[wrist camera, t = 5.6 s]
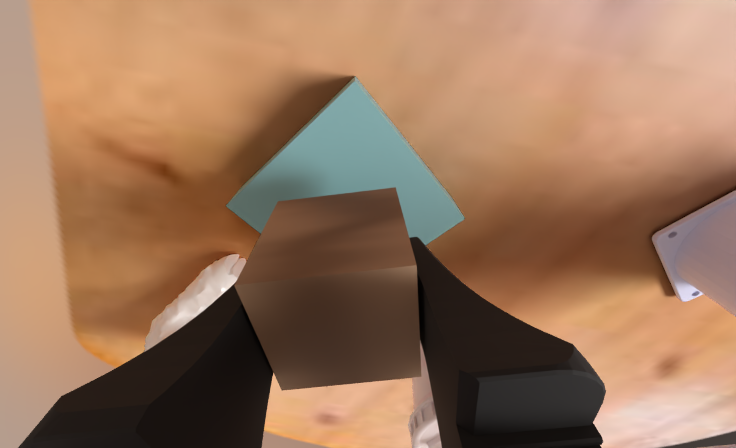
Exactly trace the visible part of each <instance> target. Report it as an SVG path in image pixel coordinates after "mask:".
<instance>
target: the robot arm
mask: <svg viewBox="0 0 736 448" xmlns="http://www.w3.org/2000/svg"><path fill="white" fill-rule="evenodd" d="M409 239H410V242H411V246H412V250H413V254H414V257H415V261H416V265H417V284H418V308H419V331H420V341H421V345H422V348H423V352H424V356H425V360H426V365H427V370H428V375H429V380H430V385H431V390H432V396H433V401H434V406H435V412H436V417H437V423H438V428H439V434H440V439H441V445H442V448H601V446H600V445H601V444H602V443H603V440H602V437H601V435H600V433H599V432H598V430H597V429H596V427H595V425H594V424H593V421H594V419H595V417H596V415H597V413H598V411H599V409H600V407H601V405H602V403H603V400H604V396H605V393H606V390H605V386H604V383H603V382H602V380H601V379H600V378H599V376H598V375H597V373H596V372H595V371H594V369H593V368H592V367H591V365H590V364H589V363H588V361H587V360H586V359H585V358H584V357H583V356H582V354H581V353H580V352H579V351H578V350H577V349H576V347H575V346H574V345H573V344H571V343H569V342H566V341H564V340H562V339H559V338H557V337H555V336H553V335H550V334H548V333H546V332H543V331H541V330H539V329H537V328H535V327H533V326H531V325H529V324H527V323H525V322H523V321H521V320H519V319H517V318H515V317H513V316H511V315H510V314H508V313H506V312H504V311H503V310H501V309H499V308H498V307H496V306H495V305H493V304H491V303H490V302H488V301H486V300H485V299H483V298H482V297H481V296H479V295H478V294H476V293H475V292H474V291H472V290H471V289H470V288H468V287H467V286H466V285H465V284H464V283H462V282H461V281H460V280H459V279H458V278H457V277H455V276H454V275H453V274H452V273H451V272H450V271H449V270H448V269H447V268H446V267H445V266H444V265H443V264H442V263H441V262H440V261H439V260H438V259H437V258H436V257H435V256H434V255H433V254H432V253H431V252H430V251H429V249H428V248H427V247H426V246H425V245H424V243H423V242H422V241H421V239H420V238H418V237H411V238H409ZM652 242H653V244H654V246H655V248H656V251H657V253H658V255H659V258H660V260H661V262H662V264H663V267H664V269H665V271H666V274H667V276H668V278H669V280H670V283H671V285H672V287H673V290H674V292H675V294H676V296H677V298H678V299H680V300H681V301H683V302H685V301H689V300H692V299H694V298H696V297H698V296H701V295H703V294H705V295H706V296H707V297H709V298H710V299H712V300H713V301H714V302H716V303H717V304H719V305H720V306H721V307H723V308H724V309H726V310H727V311H728V312H730V313H731V314H733V315H734V316H735V317H736V190H735V191H733V192H731V193H729V194H727V195H725V196H723V197H722V198H720V199H718V200H716V201H714V202H712V203H710V204H708V205H707V206H705V207H703V208H701V209H699V210H697V211H695V212H693V213H692V214H690V215H688V216H686V217H684V218H682V219H680V220H678V221H677V222H675V223H673V224H671V225H669V226H667V227H665V228H663V229H662V230H660V231H658V232H656V233H655V234H654V235H653V237H652ZM235 283H236V282H235ZM235 283H234V284H233V285H232V286H231V287H230V288H229V289H228V290H227V291H226V292H224V293H223V294H222V295H221V296H220V297H219V298H218V299H216V300H215V301H214V302H213V303H212V304H211V305H210V306H209V307H207V308H206V309H205V310H204V311H202V312H201V313H200V314H199V315H197V316H196V317H195V318H193V319H192V320H191V321H189V322H188V323H187V324H185V325H184V326H183V327H181V328H180V329H179V330H177V331H176V332H174V333H173V334H171V335H170V336H168V337H167V338H165V339H164V340H162V341H161V342H159V343H158V344H156V345H155V346H153V347H151V348H150V349H148V350H147V351H145V352H143V353H142V354H140V355H138V356H137V357H135V358H133V359H132V360H130V361H128V362H126V363H125V364H123V365H121V366H119V367H118V368H116V369H114V370H112V371H110V372H108V373H107V374H105V375H103V376H101V377H99V378H97V379H95V380H93V381H91V382H89V383H87V384H85V385H83V386H81V387H79V388H77V389H75V390H73V391H71V392H69V393H67V394H65V395H63V396H61V398H59V400H58V401H57V402H56V403H55V404H54V406H53V407H52V408H51V409H50V410H49V412H48V413H47V414H46V415H45V416H44V418H43V419H42V420H41V421H40V422H39V424H38V425H37V426H36V427H35V428H34V430H33V431H32V432H31V433H30V434H29V436H28V437H27V438H26V439H25V440H24V442H23V443H22V444H21V445H20V446H19V448H261V447H262V439H263V432H264V425H265V418H266V411H267V405H268V399H269V393H270V387H271V381H272V376H273V370H272V368H271V365H270V363H269V361H268V359H267V357H266V354H265V352H264V350H263V348H262V346H261V343H260V341H259V339H258V337H257V335H256V332H255V330H254V328H253V326H252V323H251V321H250V319H249V317H248V315H247V312H246V310H245V308H244V306H243V304H242V301H241V299H240V297H239V295H238V293H237V290H236V288H235V286H234V285H235ZM700 448H736V444H733V445H723V446H710V447H700Z"/></svg>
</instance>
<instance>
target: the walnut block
mask: <svg viewBox="0 0 736 448" xmlns="http://www.w3.org/2000/svg"><path fill="white" fill-rule="evenodd" d="M234 286H235V288H236V290H237V293H238V295H239V297H240V299H241V301H242V304H243V306H244V308H245V310H246V312H247V315H248V317H249V319H250V321H251V323H252V326H253V328H254V330H255V332H256V335H257V337H258V339H259V341H260V343H261V346H262V348H263V350H264V352H265V354H266V357H267V359H268V361H269V363H270V365H271V368H272V370H273V372H274V374H275V376H276V379H277V381H278V383H279V385H280V387H281V390H291V389H302V388H312V387H322V386H332V385H342V384H353V383H363V382H373V381H383V380H393V379H404V378H414V377H421V354H420V331H419V308H418V284H417V265H416V261H415V257H414V254H413V250H412V246H411V242H410V239H409V235H408V231H407V228H406V224H405V220H404V217H403V213H402V209H401V205H400V202H399V198H398V194H397V191H396V187H394V188H386V189H377V190H369V191H360V192H352V193H344V194H335V195H327V196H319V197H310V198H302V199H293V200H285V201H278V202H277V204H276V206H275V208H274V210H273V212H272V214H271V215H270V217H269V219H268V221H267V223H266V225H265V227H264V229H263V231H262V233H261V235H260V237H259V239H258V240H257V242H256V244H255V246H254V248H253V250H252V252H251V254H250V256H249V258H248V260H247V262H246V264H245V266H244V267H243V269H242V271H241V273H240V275H239V277H238V279H237V281H236V283H235V285H234Z"/></svg>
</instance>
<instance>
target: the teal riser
mask: <svg viewBox="0 0 736 448" xmlns="http://www.w3.org/2000/svg"><path fill="white" fill-rule="evenodd" d="M394 187H396V191H397V194H398V198H399V202H400V205H401V209H402V213H403V217H404V220H405V224H406V228H407V231H408V235H409V238H411V237H418V238H420V239H421V241H422V242H423V243H424V245H427V244H428V243H430V242H431V241H433V240H434V239H436V238H437V237H439V236H440V235H442V234H443V233H445V232H446V231H448V230H449V229H451V228H452V227H454V226H455V225H457V224H458V223H460V222H461V221H463V220H464V219H465V218H464V216H463V214H462V213H461V211H460V210H459V208H458V206H457V205H456V203H455V202H454V200H453V198H452V197H451V196H450V195H449V193H448V192H447V191H446V190H445V188H444V187H443V186H442V185H441V183H440V182H439V181H438V180H437V178H436V177H435V176H434V175H433V173H432V172H431V171H430V169H429V168H428V167H427V166H426V164H425V163H424V162H423V161H422V159H421V158H420V157H419V156H418V154H417V153H416V152H415V151H414V149H413V148H412V147H411V146H410V144H409V143H408V142H407V141H406V139H405V138H404V137H403V135H402V134H401V133H400V132H399V130H398V129H397V128H396V127H395V125H394V124H393V123H392V122H391V120H390V119H389V118H388V117H387V115H386V114H385V113H384V112H383V110H382V109H381V108H380V107H379V105H378V104H377V103H376V101H375V100H374V99H373V98H372V96H371V95H370V94H369V93H368V91H367V90H366V89H365V88H364V86H363V85H362V84H361V83H360V81H359V80H358V79H357V78H356V76H355V77H354V78H353V79H352V80H351V81H350V82H349V83H348V84H347V85H346V86H345V87H344V88H342V89H341V90H340V91H339V92H338V93H337V94H336V95H335V96H334V97H333V98H332V99H331V100H330V101H329V102H328V103H327V104H326V105H325V106H324V107H323V108H322V109H321V110H320V111H319V112H318V113H317V114H316V115H315V116H314V117H313V118H312V119H311V120H310V121H309V122H308V123H307V124H306V125H305V126H303V127H302V128H301V129H300V130H299V131H298V132H297V133H296V134H295V135H294V136H293V137H292V138H291V139H290V140H289V141H288V142H287V143H286V144H285V145H284V146H283V147H282V148H281V149H280V150H279V151H278V152H277V153H276V154H275V155H274V156H273V157H272V158H271V159H270V160H269V161H268V162H267V163H266V164H264V165H263V166H262V167H261V168H260V169H259V170H258V171H257V172H256V173H255V174H254V175H253V176H252V177H251V178H250V179H249V180H248V181H247V182H246V183H245V184H244V185H243V186H242V187H241V188H240V189H239V191H238V192H237V193H236V194H235V195H234V197H233V198H232V199H231V200H230V201H229V203H228V204H227V205H226V207H228V208H229V209H230V210H231V211H233V212H234V213H235V214H236V215H238V216H239V217H240V218H241V219H243V220H244V221H245V222H246V223H248V224H249V225H250V226H251V227H253V228H254V229H255V230H256V231H258V232H259V233H260V234H261V233H262V231H263V229H264V227H265V225H266V223H267V221H268V219H269V217H270V215H271V214H272V212H273V210H274V208H275V206H276V204H277V202H278V201H285V200H293V199H302V198H310V197H319V196H327V195H335V194H344V193H352V192H360V191H369V190H377V189H386V188H394Z"/></svg>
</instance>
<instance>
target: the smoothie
mask: <svg viewBox="0 0 736 448" xmlns="http://www.w3.org/2000/svg"><path fill="white" fill-rule="evenodd" d="M420 354H421V377H414V378H412V383H413V385H412V389H413V407H414V411H413V412H412V414H411V415H410V419H409V423H408V427H409V431H410V434H411V442H412V448H442V445H441V439H440V434H439V428H438V423H437V417H436V412H435V406H434V401H433V396H432V390H431V385H430V380H429V375H428V370H427V365H426V360H425V356H424V352H423V348H422V345H421V341H420Z"/></svg>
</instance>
